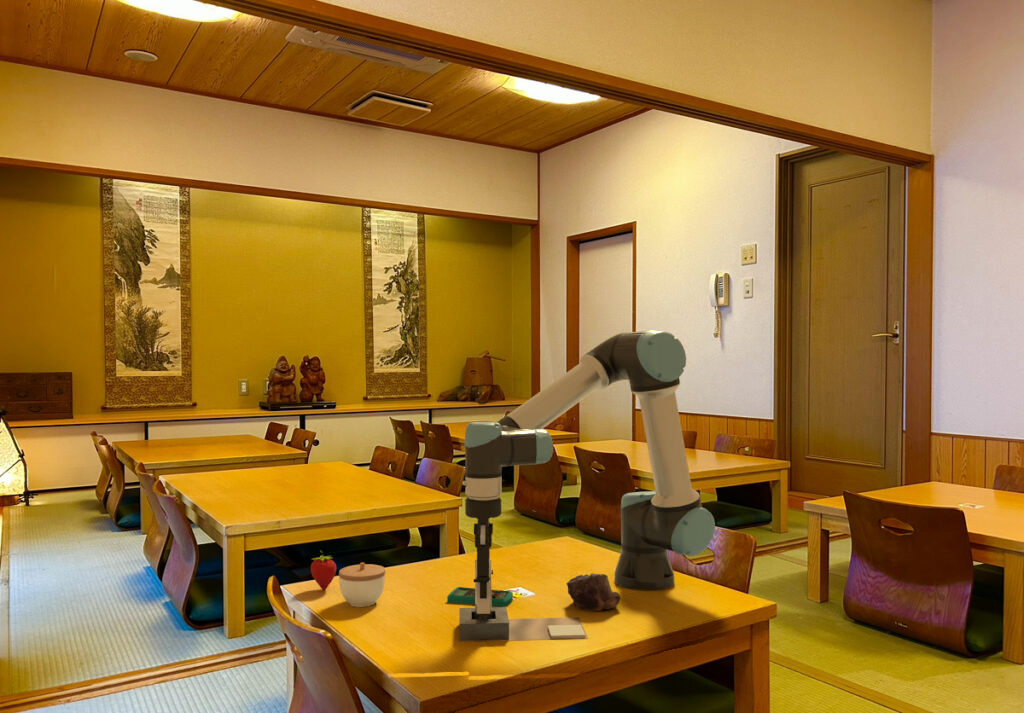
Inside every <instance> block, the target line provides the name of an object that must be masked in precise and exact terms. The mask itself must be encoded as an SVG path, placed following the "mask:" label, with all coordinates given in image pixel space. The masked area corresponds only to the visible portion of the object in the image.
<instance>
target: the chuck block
mask: <svg viewBox="0 0 1024 713" xmlns="http://www.w3.org/2000/svg"><path fill="white" fill-rule="evenodd" d="M508 619H509V615H508V610H507V606H506V607H499V606H492V619H475V607H459V621H458V622H459V624H458V627H459V628H458V629H459V630H458V632H459V633H458V636H459V637H458V639H459V640H458V641H477V640H509V620H508Z"/></svg>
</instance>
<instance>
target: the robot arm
mask: <svg viewBox="0 0 1024 713" xmlns="http://www.w3.org/2000/svg"><path fill="white" fill-rule="evenodd" d="M686 364H687V354H686V351H685V348H684V345H683V344H682V342H681V341H680V340H679V339H678V338H677V336H675V335H674V334H672V333H671V332H669V331H664V330H654V329H652V330H641V331H627V332H624V331H623V332H620V333H617V334H615V335H613V336H611V337H609V338H608V339H606V340H604V341H602V342H600V344H597V345H596V346H595V347H594V348H592V349H591V350H589V351H588V352H586V353H585V354H584V355H583V356H581V357H580V360H579V363H578V364H577V365H575V366H574V367H573V368H571V369H570V370H568V371H567V372H565V373H564V374H563V375H561V376H560V377H559V378H557V379H556V380H554V381H553V382H551V383H550V384H549V385H547V386H545V387H544V388H543V389H542V390H541V391H539V392H538V393H536V394H535V395H534V396H532V397H531V398H529V399H528V400H526V401H525V402H523V403H522V404H521V405H519V406H518V407H517V408H515V409H514V410H512V411H511V412H509V413H508V414H506V415H505V416H504V417H502V418H501V419H499V420H498V421H476V422H474V421H473V422H470V423H468V424H467V425H466V427H465V434H464V443H463V445H464V458H465V459H464V460H465V462H464V464H465V469H464V470H465V480H463V481H462V482H461V484H462V485H463V486H465V490H464V491H465V492H464V493H465V495H466V498H465V500H464V503H465V504H464V506H465V508H464V510H465V511H464V512H465V515H466V517H469V519H470V518H471V519H476V520H477V522H475V523H474V524H473V535H474V546H475V549H476V560H477V577H476V579H475V578H473V583H475V582H477V614H490V577H489V559H490V560H491V558H490V557H491V556H490V554H491V553H490V551H491V550H490V549H491V548H492V542H493V540H492V539H493V538H492V537H493V533H494V523H492V522H491V521H490V519H491V518H492V519H495V518H497V517H500V516H501V515H502V498H501V497H500V496H501V495H502V493H503V492H502V491H503V490H502V488H503V487H502V486H503V484H502V482H503V480H502V477H503V476H502V468H503V467H513V466H514V467H515V466H530V465H531V466H532V465H534V466H536V465H541V464H545V463H548V462H550V461H551V458H552V456H553V453H554V442H553V438H552V435H551V434H550V433H549V431H548V430H546V429H544V428H546V427H547V426H548V425H550V424H552V422H554V421H555V420H556V419H558V418H559V417H561V416H562V415H563V414H565V413H566V412H567V411H569V410H571V408H573V407H574V406H576V405H577V404H578V403H580V402H581V401H582V400H584V399H585V398H587V397H588V396H589V395H591V394H592V393H593V392H595V391H596V390H598V389H600V390H604V389H606V388H608V386H610V385H612V384H614V383H618V382H620V381H624V380H628V382H629V387H630V392H631V393H632V394H633V395H635V396H636V397H637V398H638V400H639V406H640V411H641V412H640V413H641V418H642V421H643V422H642V423H643V429H644V433H645V439H646V445H647V451H648V457H649V462H650V467H651V474H652V477H653V484H654V490H655V491H653V490H652V491H650V490H649V491H637V492H636V491H635V492H628V493H625V494H623V495H622V497H621V501H620V502H621V503H620V504H621V505H620V525H621V526H620V532H621V534H620V535H621V536H620V538H621V539H620V540H621V541H620V542H621V544H620V545H621V546H620V547H621V549H620V555H619V558H618V561H617V564H616V567H615V570H614V583H616V585H619V586H621V587H624V588H627V589H630V590H631V589H632V590H638V591H639V590H641V591H660V590H665V589H669V588H671V587H673V586H674V585H675V572H674V570H673V567H672V564H671V561H670V557H669V555H668V551H671V552H674V553H675V554H677V555H681V556H682V555H684V556H690V557H693V556H698V555H700V554H702V553H703V552H704V551H705V550H706V549H707V548H708V547H709V546H710V543H711V541H712V540H713V538H714V535H715V531H716V530H715V528H716V523H715V518H714V516H713V515H712V513H711V512H710V511H709V510H708V509H706V508H704V507H703V506H702V502H701V496H700V493H699V492H698V491H697V490H695V489H694V488H693V487H692V481H691V476H690V471H689V464H688V460H687V453H686V447H685V442H684V436H683V430H682V425H681V424H682V423H681V419H680V414H679V407H678V403H677V402H678V401H677V395H676V390H677V389H678V388H679V386H680V384H681V380H680V377H681V376H682V374H683V373H684V368H685V367H686V366H687V365H686ZM490 522H491V523H490ZM491 575H494V569H491Z"/></svg>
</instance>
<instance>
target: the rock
mask: <svg viewBox="0 0 1024 713" xmlns="http://www.w3.org/2000/svg"><path fill="white" fill-rule="evenodd" d="M608 576H609V575H607V574H605V573H590V574H584V575H583V574H580V575H577V576H575V577H573V578H571V579H569V581H567V583H566V587H567V594H568V595H569V596H570V598H571V599H572V600H573V604H574V605H575V608H576V609H578V610H583V611H584V610H585V611H588V612H589V611H591V612H601V611H602V610H608V609H609V610H610V609H614V608H616V607H617V606H619V604H620V600H621V594H620V593H619V592H617V591H613V590H612V588H611V584H610V581H609V578H608Z"/></svg>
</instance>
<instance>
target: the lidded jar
mask: <svg viewBox="0 0 1024 713" xmlns="http://www.w3.org/2000/svg"><path fill="white" fill-rule="evenodd" d="M338 577H339V588H340V593H341V595H342V597H343V599H344V600H345V601H346V603H347V602H348V604H350V605H351V607H354V606H355V607H354V608H363V607H365V608H366V607H370V606H373V605H375V604H376V601H378V600H379V598H380V597H381V595H382V594H383V591H384V589H385V582H386V580H385V579H386V567H384V566H383V565H377V564H372V563H371V564H366V563H365V562H360V563H359V564H354V565H353V564H352V565H348V566H345V567H343V568H341V569H340V570H339V572H338ZM350 605H349V606H350Z"/></svg>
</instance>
